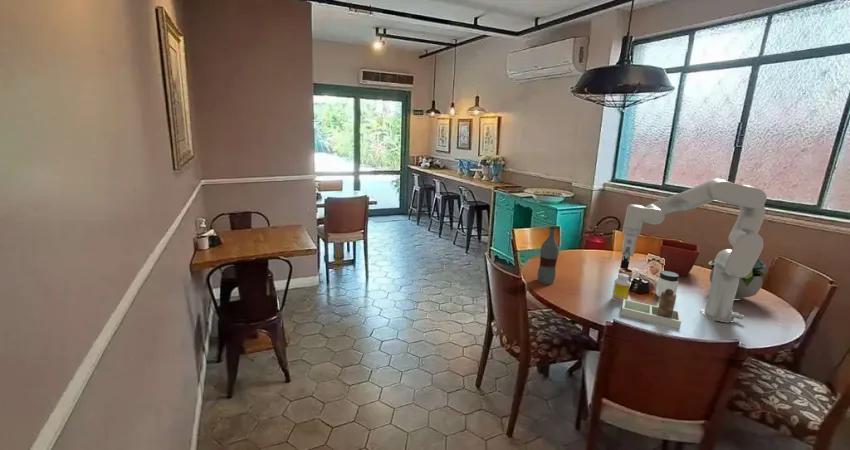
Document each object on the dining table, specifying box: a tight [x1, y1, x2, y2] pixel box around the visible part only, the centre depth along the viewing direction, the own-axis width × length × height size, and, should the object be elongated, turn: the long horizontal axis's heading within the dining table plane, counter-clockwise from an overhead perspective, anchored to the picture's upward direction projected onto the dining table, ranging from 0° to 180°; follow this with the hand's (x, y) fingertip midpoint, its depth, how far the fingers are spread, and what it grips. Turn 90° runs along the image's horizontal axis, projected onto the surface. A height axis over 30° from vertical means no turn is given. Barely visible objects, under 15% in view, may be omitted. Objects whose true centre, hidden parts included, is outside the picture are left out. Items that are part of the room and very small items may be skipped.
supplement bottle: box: [611, 273, 631, 302], centre depth 198 cm, size 7×7×13 cm
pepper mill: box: [657, 289, 677, 319], centre depth 177 cm, size 6×6×14 cm
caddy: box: [620, 299, 682, 330], centre depth 181 cm, size 22×12×4 cm, turn 62°
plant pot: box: [659, 238, 700, 278], centre depth 243 cm, size 19×19×17 cm
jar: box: [655, 270, 680, 298], centre depth 206 cm, size 9×8×12 cm
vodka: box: [537, 225, 560, 285], centre depth 214 cm, size 9×9×30 cm
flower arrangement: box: [708, 258, 769, 300], centre depth 208 cm, size 25×25×24 cm
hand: (624, 265), depth 195 cm, fingers open, 9 cm apart
